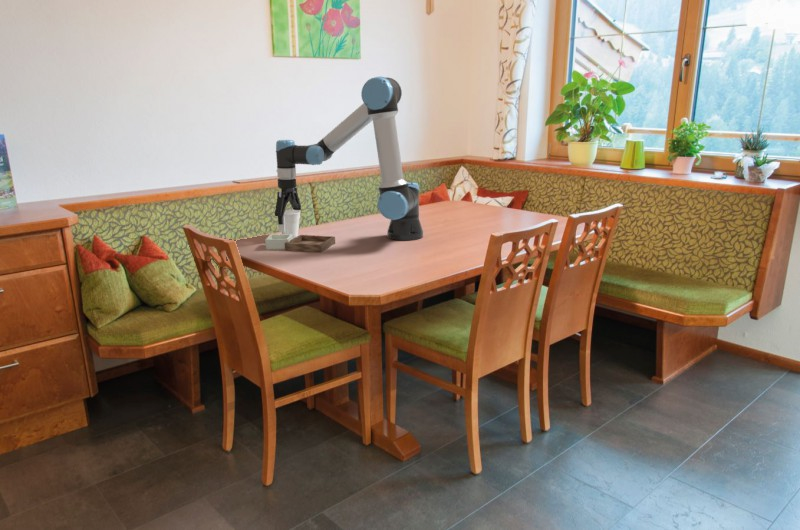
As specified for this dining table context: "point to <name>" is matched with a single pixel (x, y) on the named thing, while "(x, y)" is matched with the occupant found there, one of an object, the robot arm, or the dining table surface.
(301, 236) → the brown square tray
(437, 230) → the dining table surface
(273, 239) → the small crate
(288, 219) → the cup
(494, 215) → the dining table surface
